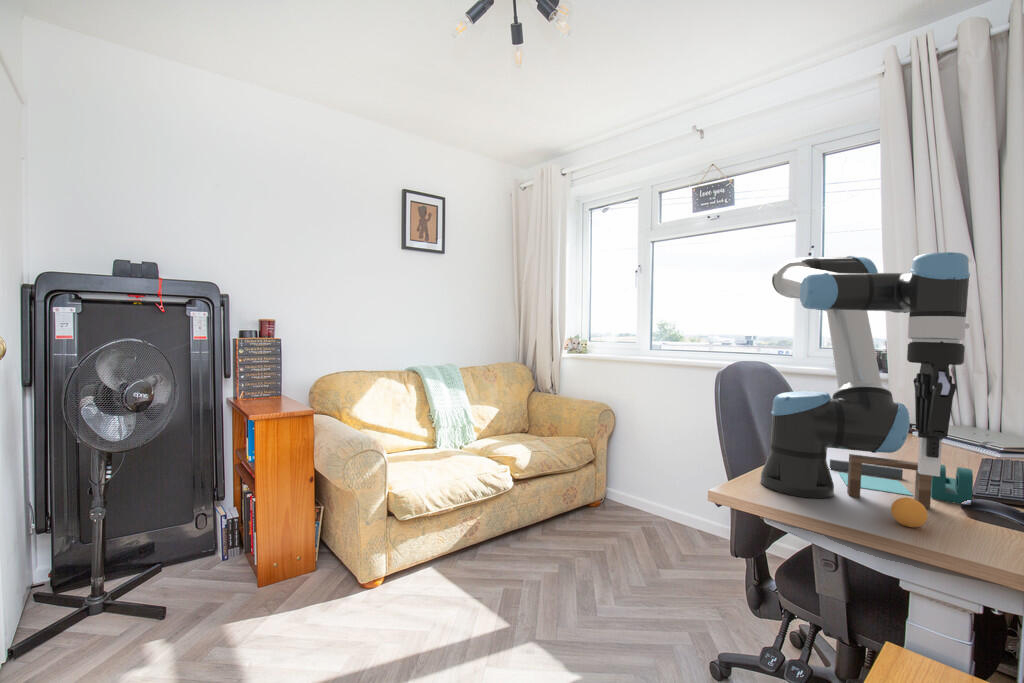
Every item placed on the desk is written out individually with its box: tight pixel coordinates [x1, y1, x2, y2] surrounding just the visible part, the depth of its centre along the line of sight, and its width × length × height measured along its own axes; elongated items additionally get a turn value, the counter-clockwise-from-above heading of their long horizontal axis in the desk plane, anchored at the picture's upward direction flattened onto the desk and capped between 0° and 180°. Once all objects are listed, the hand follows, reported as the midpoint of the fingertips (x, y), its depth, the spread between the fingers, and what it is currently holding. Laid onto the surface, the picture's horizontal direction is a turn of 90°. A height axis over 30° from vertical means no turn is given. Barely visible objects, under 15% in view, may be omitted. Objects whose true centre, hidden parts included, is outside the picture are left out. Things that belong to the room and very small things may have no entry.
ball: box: [890, 497, 928, 528], centre depth 93 cm, size 6×6×6 cm
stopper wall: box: [829, 458, 904, 480], centre depth 130 cm, size 16×2×2 cm, turn 63°
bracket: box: [931, 464, 974, 505], centre depth 115 cm, size 18×7×8 cm, turn 141°
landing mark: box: [837, 471, 914, 497], centre depth 120 cm, size 13×13×1 cm
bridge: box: [846, 453, 932, 509], centre depth 108 cm, size 3×14×9 cm, turn 63°
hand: (928, 474), depth 84 cm, fingers closed
